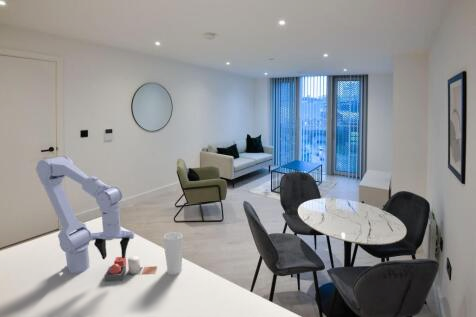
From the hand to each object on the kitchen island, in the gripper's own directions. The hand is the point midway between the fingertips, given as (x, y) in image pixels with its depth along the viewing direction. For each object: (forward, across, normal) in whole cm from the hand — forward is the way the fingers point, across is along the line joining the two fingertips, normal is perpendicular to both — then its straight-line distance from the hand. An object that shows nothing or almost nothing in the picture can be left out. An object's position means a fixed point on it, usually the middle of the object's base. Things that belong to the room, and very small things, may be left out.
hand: (114, 257), depth 108 cm
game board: (+8, +6, +3) cm, 10 cm away
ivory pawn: (+8, +6, +3) cm, 10 cm away
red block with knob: (+8, 0, +6) cm, 10 cm away
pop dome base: (+8, 0, 0) cm, 8 cm away
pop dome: (+6, 0, 0) cm, 6 cm away
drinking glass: (+9, +21, +2) cm, 23 cm away
